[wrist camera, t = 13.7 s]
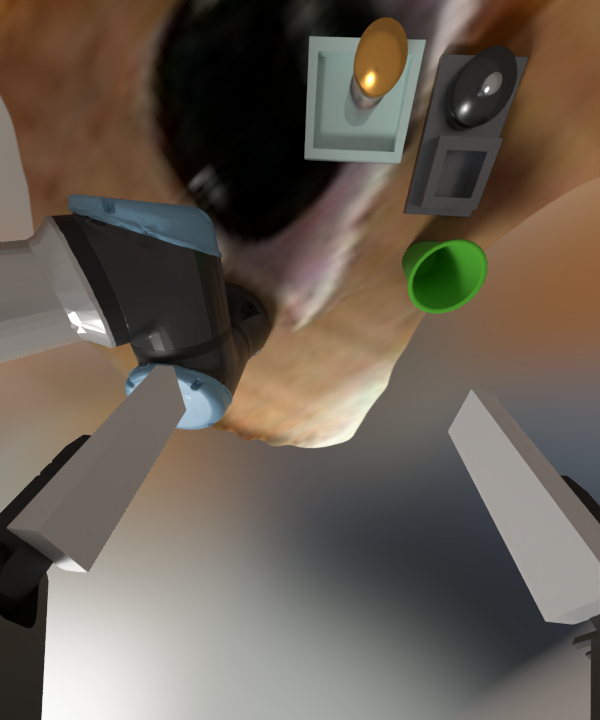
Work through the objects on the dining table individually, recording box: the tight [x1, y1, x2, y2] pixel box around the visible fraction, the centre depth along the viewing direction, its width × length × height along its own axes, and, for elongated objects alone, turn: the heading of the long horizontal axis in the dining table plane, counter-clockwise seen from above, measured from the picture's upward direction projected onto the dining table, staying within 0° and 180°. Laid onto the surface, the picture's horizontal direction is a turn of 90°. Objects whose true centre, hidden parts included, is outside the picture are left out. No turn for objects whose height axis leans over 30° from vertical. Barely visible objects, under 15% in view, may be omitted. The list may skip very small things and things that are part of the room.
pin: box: [344, 17, 408, 127], centre depth 25 cm, size 4×4×14 cm
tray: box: [304, 36, 426, 164], centre depth 30 cm, size 12×10×2 cm
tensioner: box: [403, 46, 529, 217], centre depth 30 cm, size 9×15×5 cm, turn 178°
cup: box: [402, 239, 487, 313], centre depth 36 cm, size 9×9×11 cm
